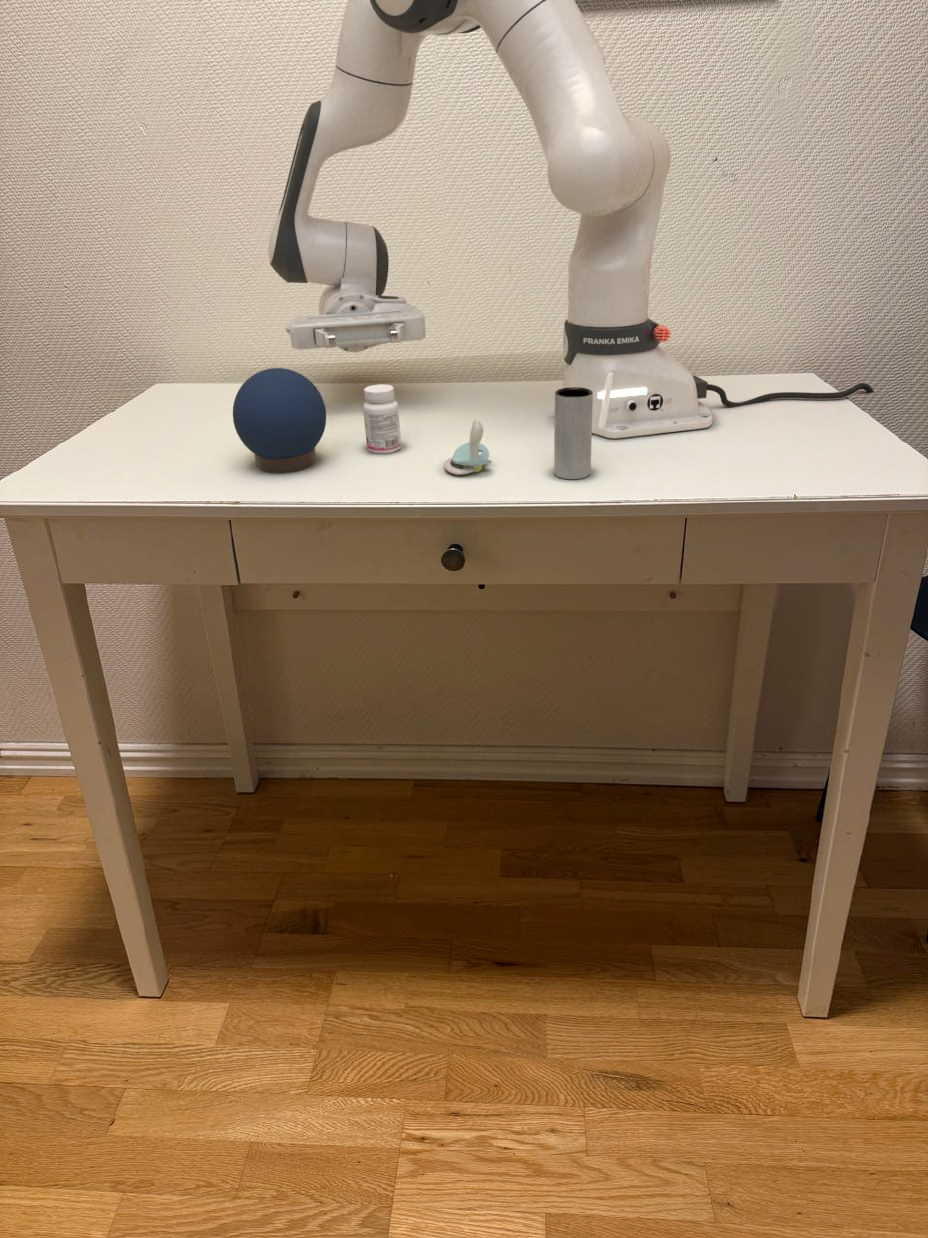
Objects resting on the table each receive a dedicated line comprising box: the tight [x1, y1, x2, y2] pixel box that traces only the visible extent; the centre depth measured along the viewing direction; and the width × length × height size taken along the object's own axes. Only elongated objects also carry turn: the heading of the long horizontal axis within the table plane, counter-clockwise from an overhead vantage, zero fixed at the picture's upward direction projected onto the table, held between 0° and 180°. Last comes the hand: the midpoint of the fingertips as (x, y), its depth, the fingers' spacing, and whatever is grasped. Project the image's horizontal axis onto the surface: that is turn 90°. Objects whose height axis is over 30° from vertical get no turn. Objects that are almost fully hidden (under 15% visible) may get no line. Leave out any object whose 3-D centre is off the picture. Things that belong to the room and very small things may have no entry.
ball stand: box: [254, 447, 317, 474], centre depth 122 cm, size 8×8×2 cm
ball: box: [232, 367, 327, 459], centre depth 119 cm, size 12×12×12 cm
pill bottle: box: [362, 383, 402, 454], centre depth 124 cm, size 5×5×8 cm
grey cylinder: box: [553, 387, 593, 480], centre depth 112 cm, size 4×4×10 cm
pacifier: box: [443, 419, 492, 476], centre depth 116 cm, size 7×6×6 cm
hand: (363, 339), depth 130 cm, fingers open, 8 cm apart
